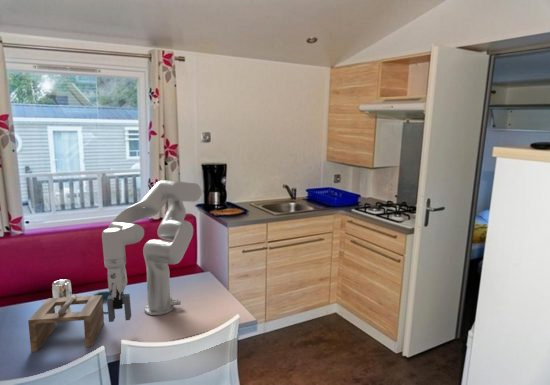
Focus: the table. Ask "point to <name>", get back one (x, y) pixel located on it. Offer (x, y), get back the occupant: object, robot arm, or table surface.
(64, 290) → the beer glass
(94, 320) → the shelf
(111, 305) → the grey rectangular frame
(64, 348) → the table surface
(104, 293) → the sunglasses
